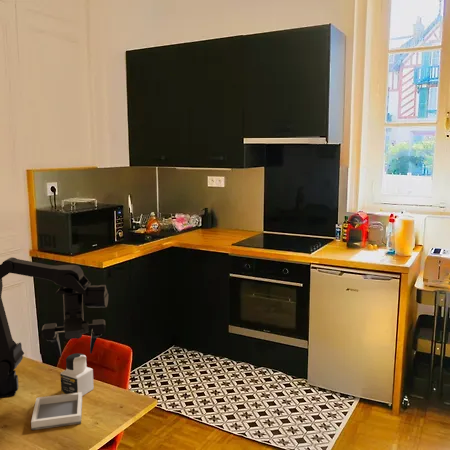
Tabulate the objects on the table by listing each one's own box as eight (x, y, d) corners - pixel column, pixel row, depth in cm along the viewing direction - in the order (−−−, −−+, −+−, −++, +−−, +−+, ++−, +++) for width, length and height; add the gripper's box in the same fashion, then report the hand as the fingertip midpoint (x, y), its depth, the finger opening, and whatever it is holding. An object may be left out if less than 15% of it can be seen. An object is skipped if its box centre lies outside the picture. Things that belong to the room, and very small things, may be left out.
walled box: (31, 430, 132) (31, 421, 132) (37, 405, 144) (36, 397, 144) (81, 423, 135) (80, 415, 135) (82, 399, 148) (81, 392, 147)
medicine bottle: (60, 393, 151) (58, 358, 149) (77, 383, 157) (75, 349, 155) (77, 399, 148) (76, 363, 146) (94, 389, 154) (92, 353, 152)
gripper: (38, 318, 138) (41, 369, 140) (105, 313, 142) (107, 362, 145) (42, 306, 148) (45, 353, 151) (104, 301, 153) (106, 347, 156)
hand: (75, 354), depth 150 cm, fingers open, 9 cm apart
